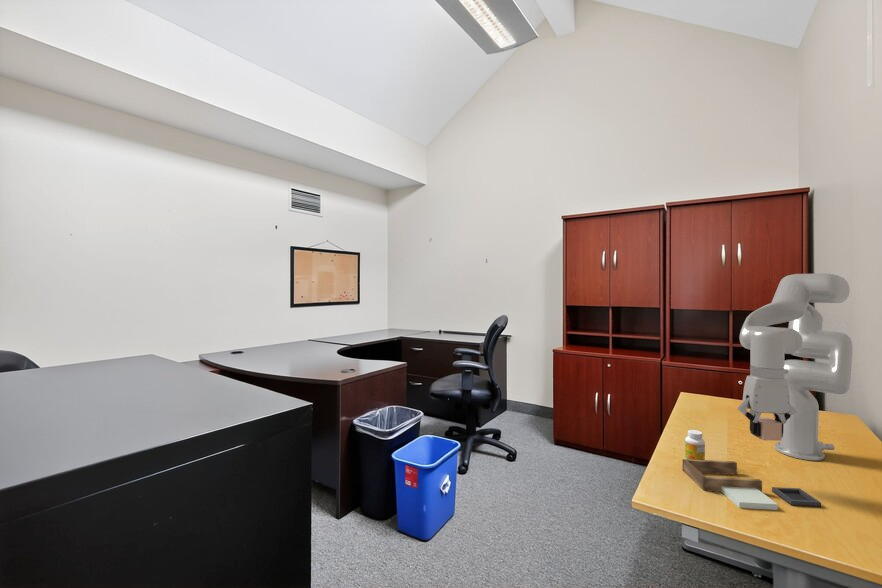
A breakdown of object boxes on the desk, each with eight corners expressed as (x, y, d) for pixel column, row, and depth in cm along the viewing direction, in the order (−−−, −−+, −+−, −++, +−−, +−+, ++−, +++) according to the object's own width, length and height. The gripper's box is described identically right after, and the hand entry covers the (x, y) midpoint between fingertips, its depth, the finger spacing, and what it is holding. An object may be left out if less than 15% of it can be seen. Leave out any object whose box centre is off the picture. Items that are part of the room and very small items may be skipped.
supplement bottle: (681, 458, 130) (681, 429, 130) (696, 457, 130) (696, 428, 130) (693, 465, 125) (693, 435, 124) (708, 464, 125) (709, 434, 125)
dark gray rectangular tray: (799, 492, 108) (799, 488, 108) (821, 507, 101) (821, 502, 101) (771, 491, 109) (772, 487, 109) (791, 505, 102) (791, 501, 102)
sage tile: (756, 493, 108) (756, 487, 108) (777, 509, 100) (777, 504, 100) (721, 491, 109) (721, 486, 109) (739, 507, 101) (739, 502, 101)
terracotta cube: (767, 433, 115) (768, 417, 115) (781, 440, 110) (781, 423, 110) (750, 433, 115) (750, 416, 115) (762, 440, 110) (763, 422, 110)
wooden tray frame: (734, 472, 120) (734, 461, 120) (762, 493, 108) (762, 481, 108) (682, 470, 121) (682, 459, 121) (703, 490, 109) (703, 478, 109)
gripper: (789, 370, 115) (788, 431, 115) (726, 369, 117) (726, 429, 117) (810, 376, 107) (809, 441, 108) (743, 375, 109) (742, 439, 110)
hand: (766, 434), depth 112 cm, fingers closed on terracotta cube, 5 cm apart
